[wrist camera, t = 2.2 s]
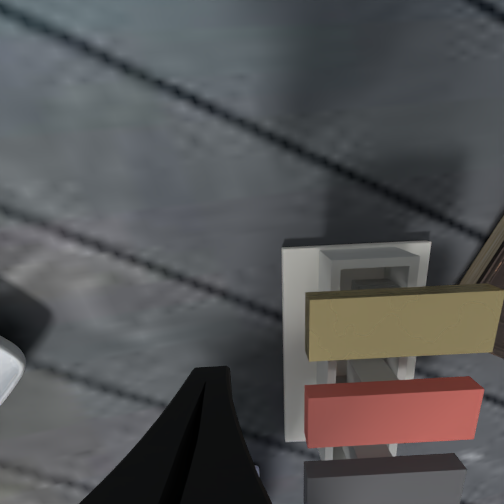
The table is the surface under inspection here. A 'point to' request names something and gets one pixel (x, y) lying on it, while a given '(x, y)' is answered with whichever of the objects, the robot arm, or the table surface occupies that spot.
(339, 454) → the panel
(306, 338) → the brass plug
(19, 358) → the salad plate
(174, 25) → the table surface
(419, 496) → the grey rectangular block
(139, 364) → the table surface
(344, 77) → the table surface
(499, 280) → the hardcover book
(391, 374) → the red plug
